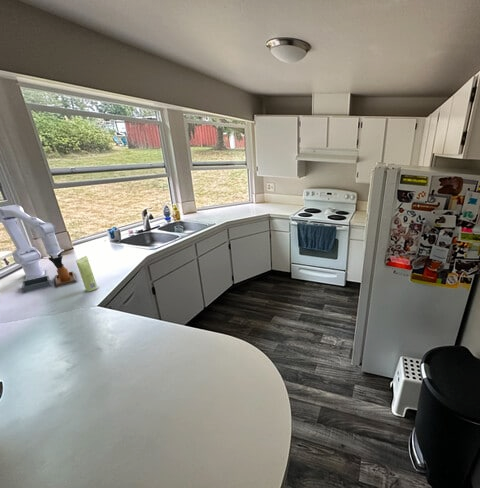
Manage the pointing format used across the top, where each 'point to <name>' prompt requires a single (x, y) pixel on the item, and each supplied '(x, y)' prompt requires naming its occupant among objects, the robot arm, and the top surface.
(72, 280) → the tray
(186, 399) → the top surface
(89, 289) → the tube
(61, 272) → the bottle
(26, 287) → the bin
